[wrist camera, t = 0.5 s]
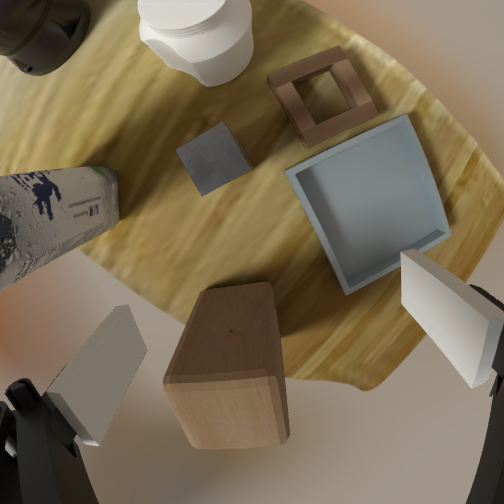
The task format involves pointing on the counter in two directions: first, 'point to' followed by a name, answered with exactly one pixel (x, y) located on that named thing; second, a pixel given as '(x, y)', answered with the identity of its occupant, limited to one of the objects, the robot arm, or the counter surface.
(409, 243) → the tray
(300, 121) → the hollow square tube
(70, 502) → the robot arm
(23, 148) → the counter surface
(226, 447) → the wooden block
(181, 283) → the counter surface
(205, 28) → the jar
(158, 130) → the counter surface
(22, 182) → the juice carton
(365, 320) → the counter surface
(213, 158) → the grey block
